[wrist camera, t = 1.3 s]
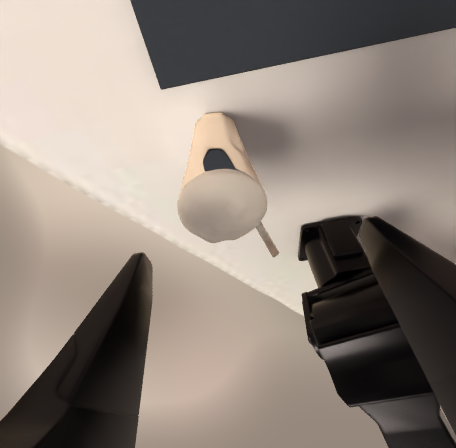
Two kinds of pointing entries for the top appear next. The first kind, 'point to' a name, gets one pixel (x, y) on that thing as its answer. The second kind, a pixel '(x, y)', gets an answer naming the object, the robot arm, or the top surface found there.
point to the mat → (272, 31)
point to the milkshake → (221, 185)
